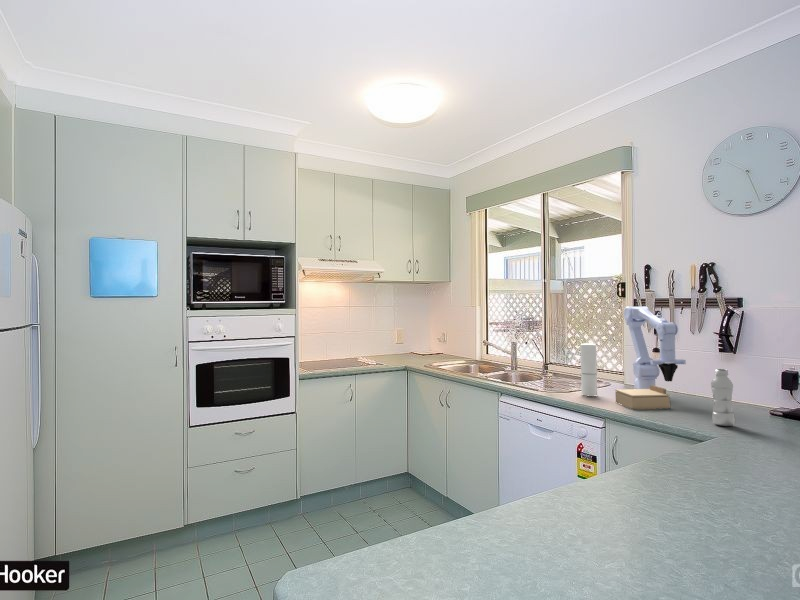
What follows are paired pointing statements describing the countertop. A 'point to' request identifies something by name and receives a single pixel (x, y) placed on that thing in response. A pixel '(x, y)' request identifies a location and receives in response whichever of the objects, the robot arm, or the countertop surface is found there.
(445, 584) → the countertop surface
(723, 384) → the plastic bottle
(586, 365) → the cylindrical container
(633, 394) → the lid
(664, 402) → the mailer box
